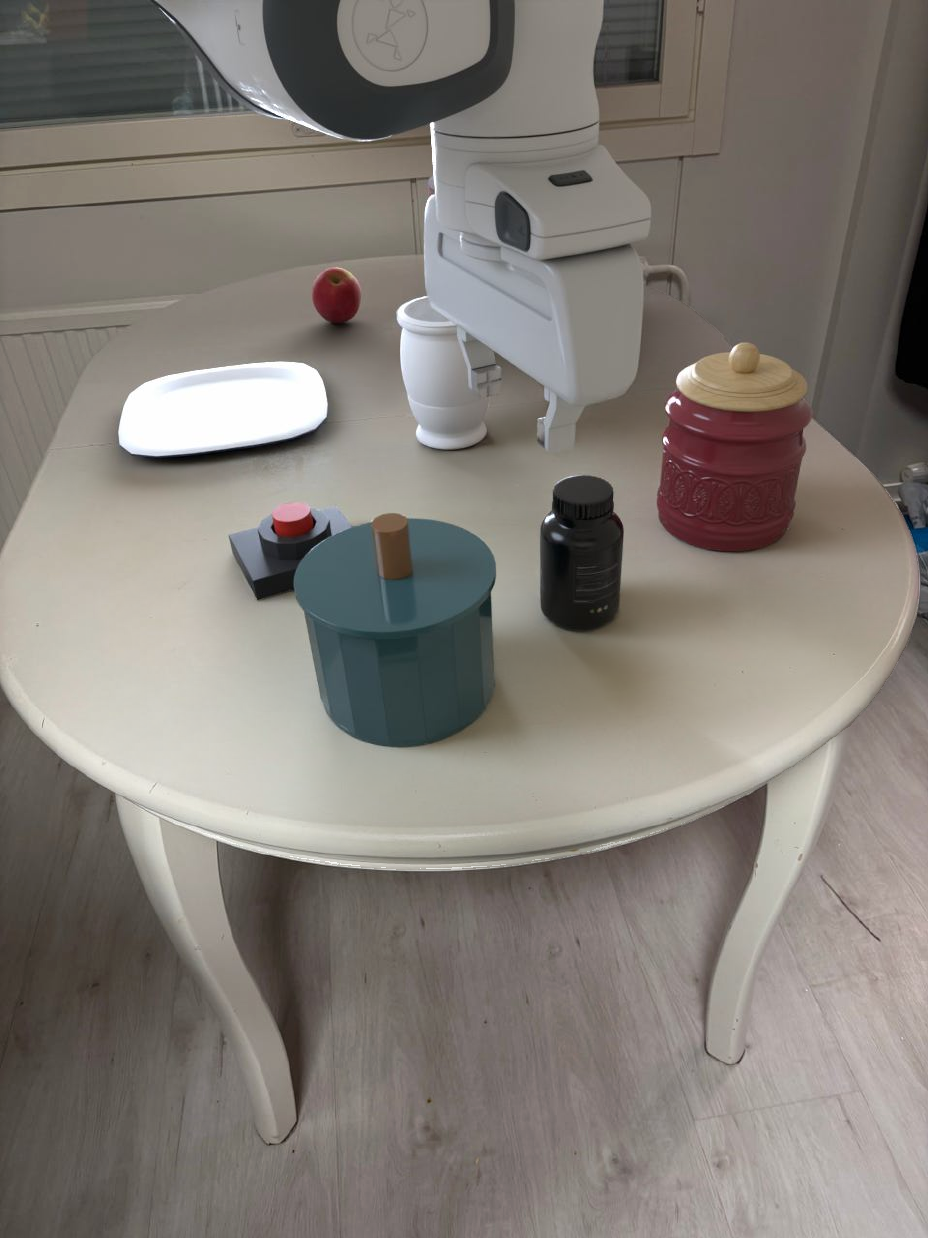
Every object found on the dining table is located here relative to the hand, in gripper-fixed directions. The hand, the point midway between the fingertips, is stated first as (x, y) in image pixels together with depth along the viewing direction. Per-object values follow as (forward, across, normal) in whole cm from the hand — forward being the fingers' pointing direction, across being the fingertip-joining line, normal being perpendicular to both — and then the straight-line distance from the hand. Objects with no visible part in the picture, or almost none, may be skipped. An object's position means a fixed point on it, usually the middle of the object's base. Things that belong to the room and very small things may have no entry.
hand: (518, 418), depth 59 cm
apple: (+23, -89, +16) cm, 93 cm away
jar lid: (+12, -5, -8) cm, 15 cm away
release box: (+23, -27, -10) cm, 37 cm away
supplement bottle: (+23, -7, +9) cm, 26 cm away
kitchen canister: (+23, -13, +29) cm, 39 cm away
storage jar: (+23, -5, -8) cm, 25 cm away
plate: (+23, -64, -8) cm, 68 cm away
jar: (+23, -44, +14) cm, 52 cm away
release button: (+19, -27, -10) cm, 34 cm away
